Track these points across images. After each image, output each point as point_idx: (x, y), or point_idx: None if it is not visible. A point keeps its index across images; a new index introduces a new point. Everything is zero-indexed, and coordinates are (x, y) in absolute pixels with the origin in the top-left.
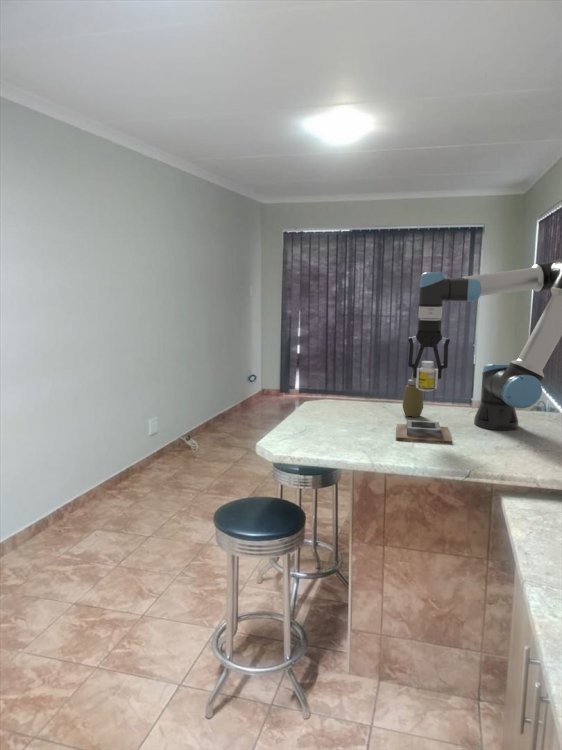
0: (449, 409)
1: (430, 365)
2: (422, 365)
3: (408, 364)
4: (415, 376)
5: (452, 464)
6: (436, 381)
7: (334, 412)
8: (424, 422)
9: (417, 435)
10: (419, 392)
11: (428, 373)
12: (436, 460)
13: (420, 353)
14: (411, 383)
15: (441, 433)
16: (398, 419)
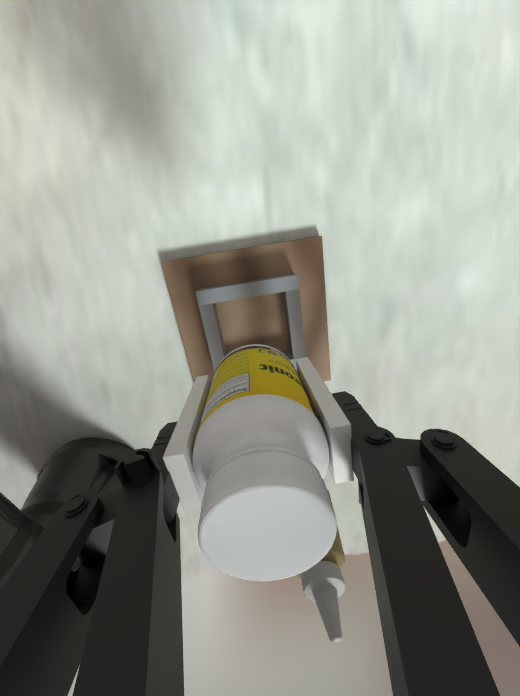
0: None
1: (227, 466)
2: (313, 468)
3: (464, 443)
4: (336, 398)
5: (114, 3)
6: (193, 398)
7: (486, 439)
8: None
9: (263, 278)
10: None
11: (242, 393)
12: (172, 35)
13: (434, 658)
14: (330, 567)
15: (203, 331)
16: None
